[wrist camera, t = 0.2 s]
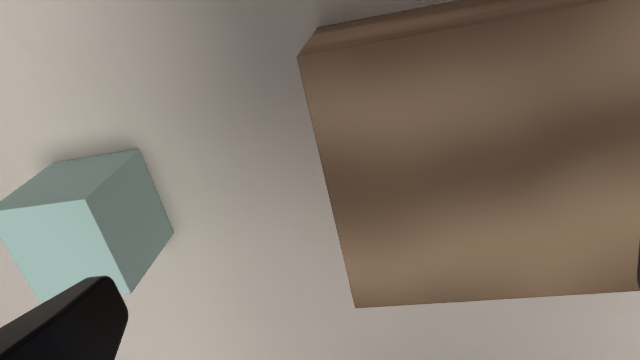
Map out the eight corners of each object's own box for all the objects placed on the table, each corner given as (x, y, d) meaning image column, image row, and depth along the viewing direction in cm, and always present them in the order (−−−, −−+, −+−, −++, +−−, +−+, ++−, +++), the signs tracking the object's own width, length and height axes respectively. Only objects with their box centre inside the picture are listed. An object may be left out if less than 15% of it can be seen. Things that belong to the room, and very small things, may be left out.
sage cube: (174, 231, 27) (131, 293, 23) (94, 240, 28) (38, 301, 24) (140, 148, 25) (84, 199, 21) (54, 161, 26) (-15, 212, 22)
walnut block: (596, 219, 24) (639, 290, 19) (363, 240, 26) (355, 308, 22) (605, -30, 19) (666, -10, 14) (318, 25, 21) (296, 57, 17)
